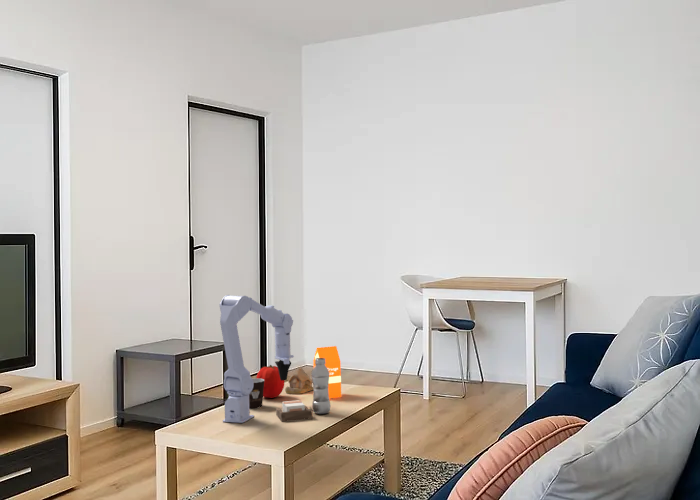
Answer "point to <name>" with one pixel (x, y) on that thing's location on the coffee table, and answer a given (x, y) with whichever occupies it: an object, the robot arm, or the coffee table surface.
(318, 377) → the plastic bottle
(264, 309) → the robot arm
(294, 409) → the carton
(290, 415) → the display stand
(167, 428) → the coffee table surface
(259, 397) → the coffee mug
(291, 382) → the ceramic model
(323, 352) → the orange juice
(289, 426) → the coffee table surface
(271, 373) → the red bell pepper
